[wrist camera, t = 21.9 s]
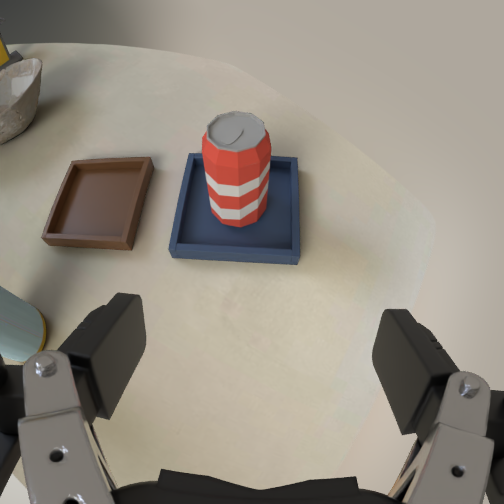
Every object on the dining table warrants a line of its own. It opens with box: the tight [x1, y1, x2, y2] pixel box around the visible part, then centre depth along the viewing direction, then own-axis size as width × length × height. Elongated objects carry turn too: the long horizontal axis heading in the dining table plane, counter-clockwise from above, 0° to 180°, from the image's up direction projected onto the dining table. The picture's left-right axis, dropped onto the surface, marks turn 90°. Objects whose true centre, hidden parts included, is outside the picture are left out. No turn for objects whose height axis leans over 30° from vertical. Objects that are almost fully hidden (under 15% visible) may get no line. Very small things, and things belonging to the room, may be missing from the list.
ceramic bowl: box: [0, 58, 42, 144], centre depth 42 cm, size 22×23×10 cm
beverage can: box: [202, 111, 271, 227], centre depth 32 cm, size 6×6×12 cm
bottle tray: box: [41, 157, 154, 250], centre depth 37 cm, size 12×12×2 cm
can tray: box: [169, 153, 300, 265], centre depth 37 cm, size 14×14×2 cm
